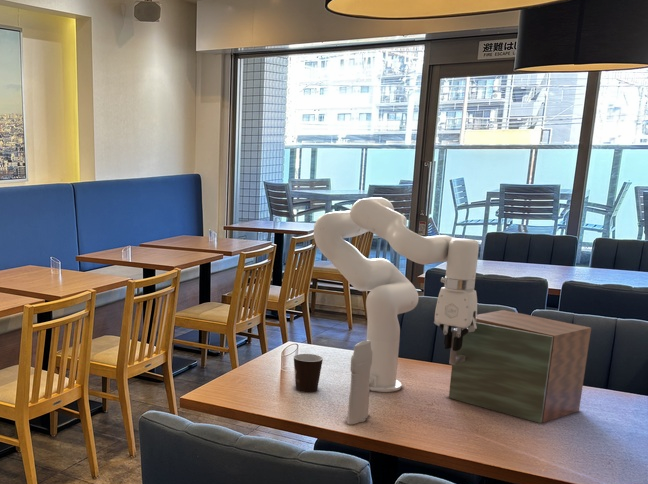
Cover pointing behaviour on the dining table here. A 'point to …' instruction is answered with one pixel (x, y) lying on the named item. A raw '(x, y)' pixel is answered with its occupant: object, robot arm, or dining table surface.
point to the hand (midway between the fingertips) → (452, 348)
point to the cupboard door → (502, 370)
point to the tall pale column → (360, 382)
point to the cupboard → (553, 357)
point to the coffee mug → (307, 372)
